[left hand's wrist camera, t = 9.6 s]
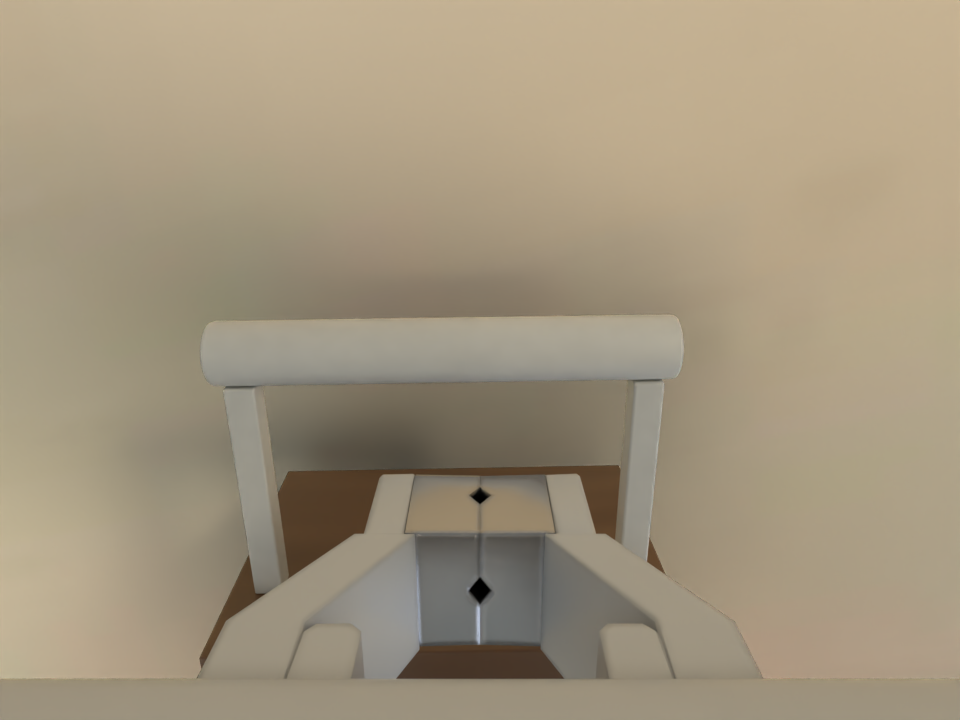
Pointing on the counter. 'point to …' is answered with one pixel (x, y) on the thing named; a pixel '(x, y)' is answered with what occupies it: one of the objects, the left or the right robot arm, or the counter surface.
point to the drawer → (349, 493)
